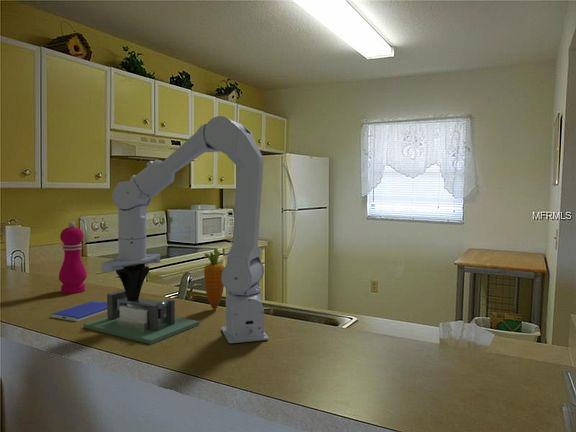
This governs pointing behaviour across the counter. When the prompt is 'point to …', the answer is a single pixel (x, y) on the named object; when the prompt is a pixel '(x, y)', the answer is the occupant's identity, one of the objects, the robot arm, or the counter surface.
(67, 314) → the hard drive
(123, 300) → the metal bar
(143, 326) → the heat sink
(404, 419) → the counter surface
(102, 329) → the motherboard
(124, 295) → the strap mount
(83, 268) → the pepper mill
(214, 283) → the carrot
